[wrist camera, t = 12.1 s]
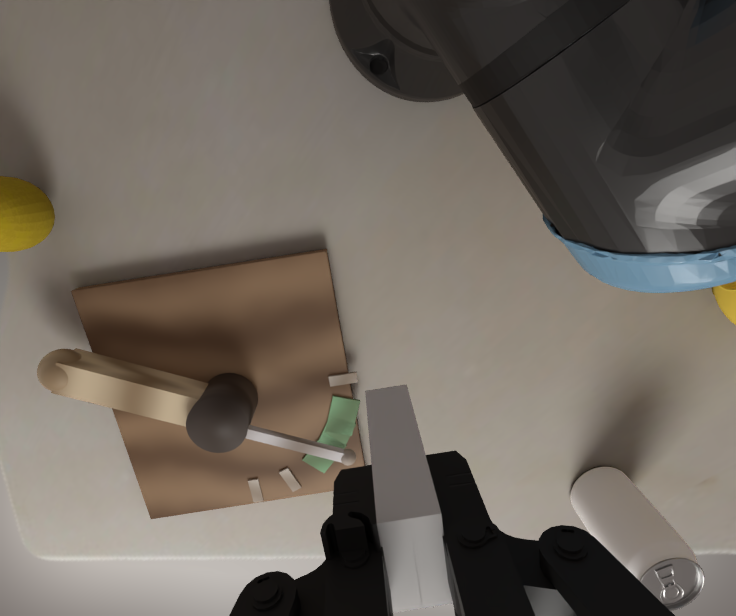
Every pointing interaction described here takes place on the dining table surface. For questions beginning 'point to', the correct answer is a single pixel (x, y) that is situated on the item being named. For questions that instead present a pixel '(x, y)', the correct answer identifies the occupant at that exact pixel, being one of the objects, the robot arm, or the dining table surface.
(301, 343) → the board
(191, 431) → the tan long two-tone device
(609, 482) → the can
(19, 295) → the dining table surface
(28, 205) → the lemon
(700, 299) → the dining table surface
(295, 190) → the dining table surface
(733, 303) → the teapot
